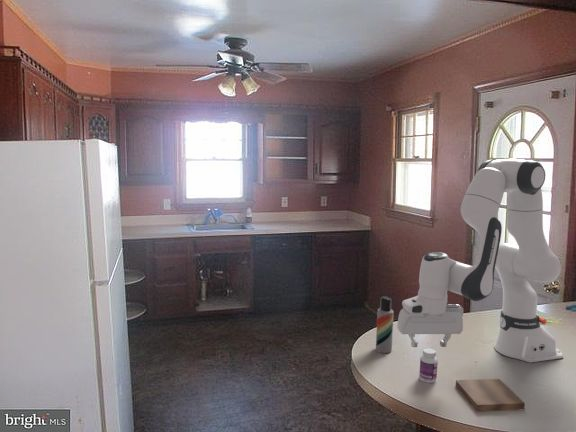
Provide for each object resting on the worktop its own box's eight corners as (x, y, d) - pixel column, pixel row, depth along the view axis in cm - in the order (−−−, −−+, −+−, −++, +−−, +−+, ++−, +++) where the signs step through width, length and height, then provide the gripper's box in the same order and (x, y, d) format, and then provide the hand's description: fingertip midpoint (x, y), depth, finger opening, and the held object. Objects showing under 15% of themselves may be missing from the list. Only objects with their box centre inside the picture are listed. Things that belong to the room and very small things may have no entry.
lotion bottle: (374, 346, 176) (376, 294, 173) (389, 346, 177) (391, 294, 174) (378, 353, 171) (380, 300, 168) (393, 353, 171) (396, 299, 168)
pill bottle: (437, 384, 150) (439, 355, 148) (419, 382, 151) (421, 353, 149) (435, 376, 155) (437, 348, 153) (418, 374, 156) (420, 346, 155)
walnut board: (498, 384, 150) (499, 378, 150) (524, 409, 136) (524, 403, 136) (455, 386, 149) (456, 380, 148) (477, 411, 135) (477, 405, 135)
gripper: (459, 301, 153) (455, 341, 155) (397, 301, 151) (394, 342, 153) (468, 307, 147) (464, 350, 149) (403, 307, 145) (400, 350, 147)
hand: (428, 346), depth 151 cm, fingers open, 8 cm apart
